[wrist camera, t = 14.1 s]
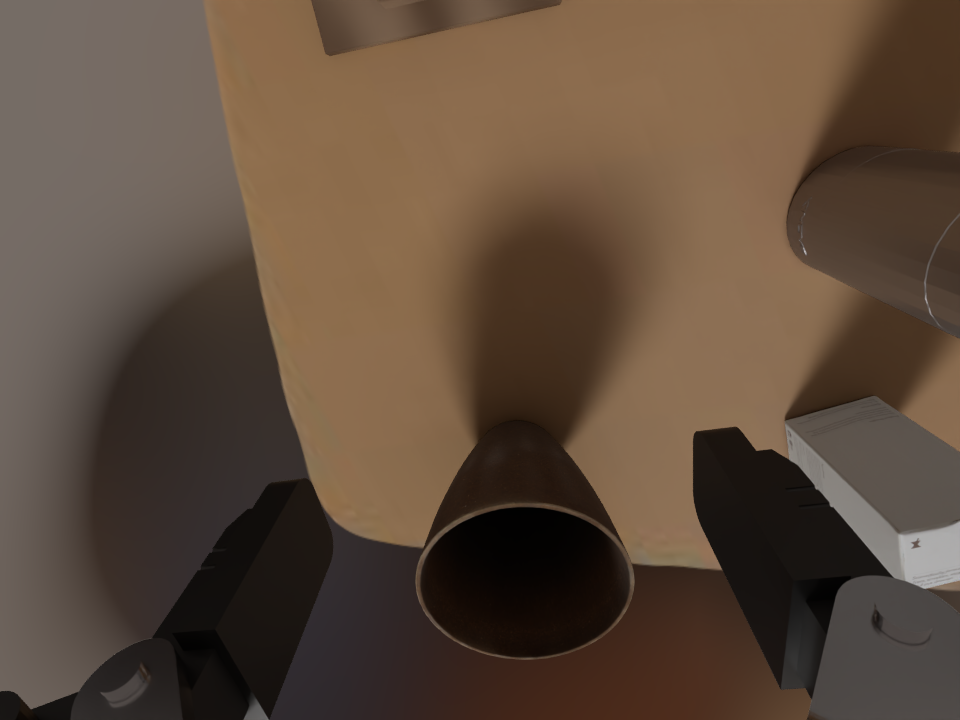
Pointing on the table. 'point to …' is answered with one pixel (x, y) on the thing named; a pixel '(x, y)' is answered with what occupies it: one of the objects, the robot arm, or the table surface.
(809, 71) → the table surface
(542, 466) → the plant pot
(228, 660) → the robot arm
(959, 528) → the skincare box
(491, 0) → the socket block
